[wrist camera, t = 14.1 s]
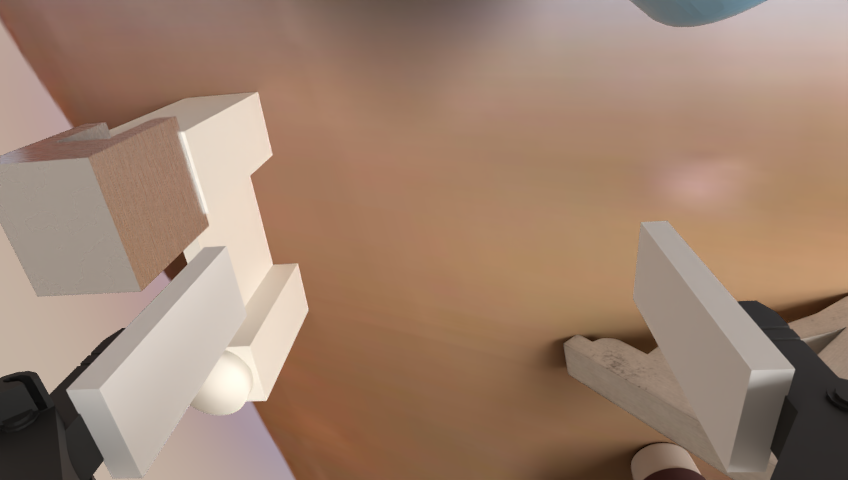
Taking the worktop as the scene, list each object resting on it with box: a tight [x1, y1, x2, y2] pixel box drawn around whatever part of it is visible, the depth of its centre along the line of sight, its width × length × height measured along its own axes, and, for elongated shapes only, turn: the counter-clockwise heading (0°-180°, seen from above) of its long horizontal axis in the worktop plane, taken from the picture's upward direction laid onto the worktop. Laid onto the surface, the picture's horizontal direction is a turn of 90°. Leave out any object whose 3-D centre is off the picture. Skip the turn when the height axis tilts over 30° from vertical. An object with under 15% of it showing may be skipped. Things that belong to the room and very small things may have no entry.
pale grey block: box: [0, 116, 209, 296], centre depth 32 cm, size 8×6×9 cm
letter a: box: [563, 296, 848, 480], centre depth 54 cm, size 22×4×30 cm
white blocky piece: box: [109, 92, 309, 415], centre depth 45 cm, size 24×7×18 cm, turn 5°
